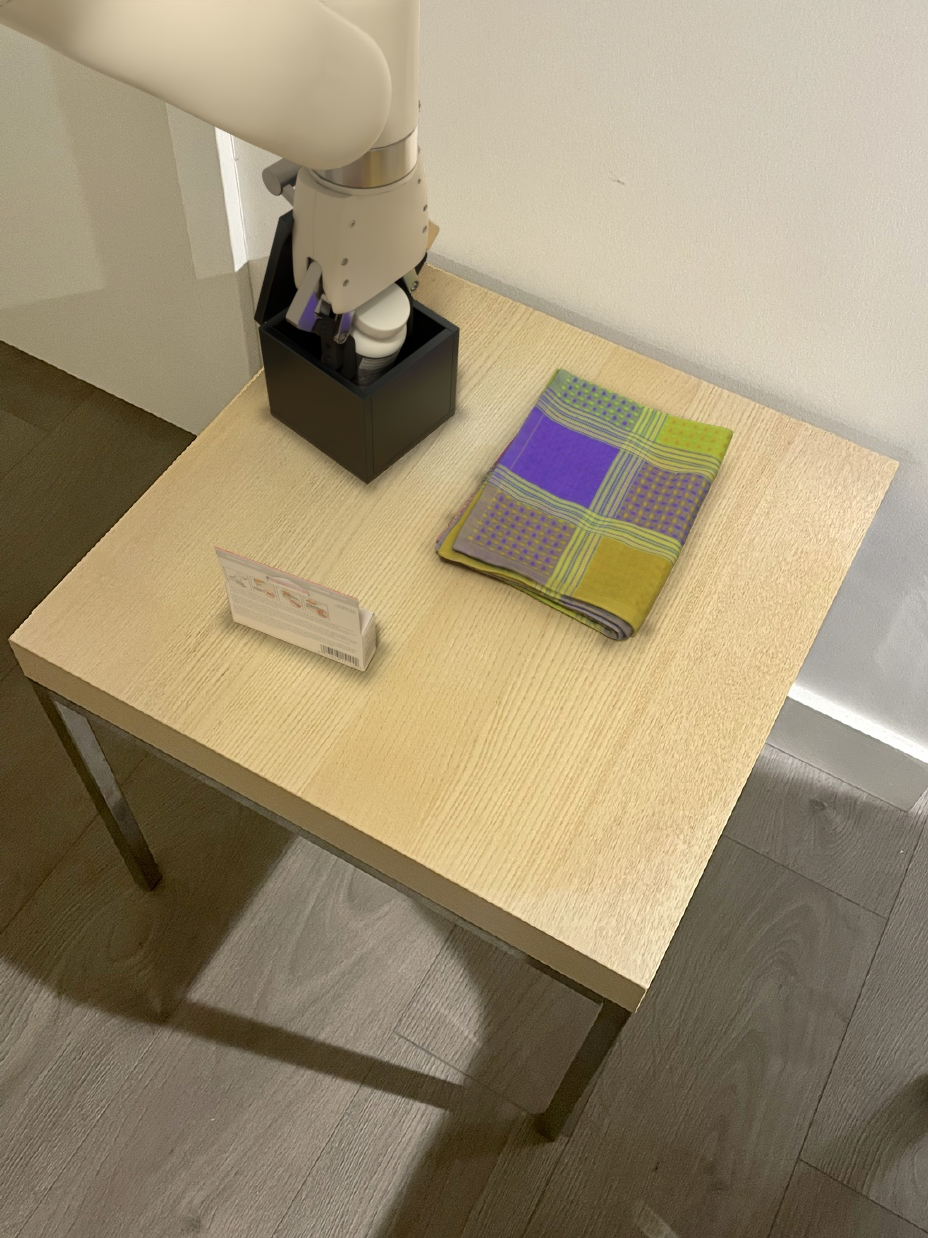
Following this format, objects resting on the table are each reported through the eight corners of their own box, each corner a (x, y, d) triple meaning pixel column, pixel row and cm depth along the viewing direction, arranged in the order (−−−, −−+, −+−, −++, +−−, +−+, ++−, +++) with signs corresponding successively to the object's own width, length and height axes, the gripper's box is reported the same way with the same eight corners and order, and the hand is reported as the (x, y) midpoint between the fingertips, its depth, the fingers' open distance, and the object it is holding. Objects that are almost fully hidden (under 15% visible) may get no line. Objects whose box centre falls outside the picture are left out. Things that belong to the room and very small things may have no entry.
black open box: (455, 413, 94) (460, 327, 86) (367, 484, 89) (363, 400, 81) (359, 349, 98) (355, 260, 90) (270, 414, 93) (257, 326, 85)
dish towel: (738, 450, 93) (747, 428, 91) (625, 658, 81) (631, 639, 79) (558, 375, 97) (561, 352, 95) (424, 563, 85) (425, 542, 83)
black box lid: (397, 155, 78) (347, 102, 78) (286, 225, 73) (233, 168, 73) (358, 259, 89) (314, 213, 89) (260, 325, 84) (214, 277, 84)
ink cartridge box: (246, 599, 82) (229, 519, 74) (378, 649, 81) (375, 573, 72) (230, 624, 81) (211, 546, 73) (364, 675, 79) (359, 601, 71)
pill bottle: (308, 349, 89) (330, 278, 80) (369, 334, 92) (398, 263, 83) (335, 408, 88) (361, 342, 79) (397, 391, 91) (428, 325, 82)
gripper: (407, 68, 76) (406, 275, 91) (225, 173, 68) (256, 380, 84) (488, 112, 74) (473, 317, 89) (308, 226, 66) (325, 429, 81)
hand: (368, 346), depth 86 cm, fingers closed on pill bottle, 5 cm apart
